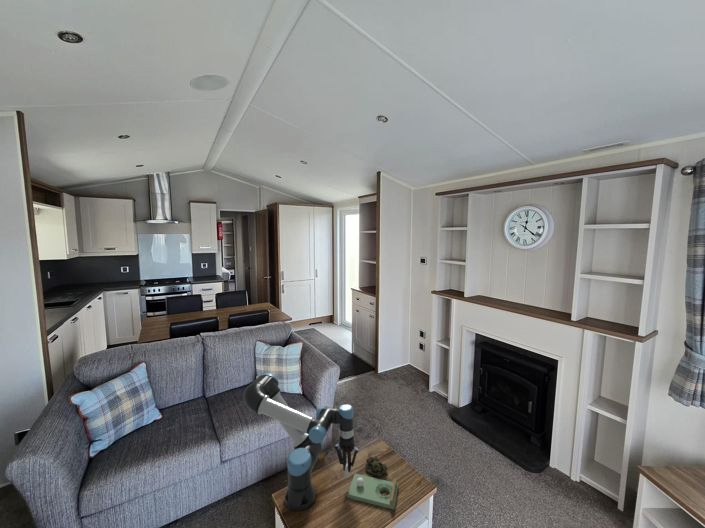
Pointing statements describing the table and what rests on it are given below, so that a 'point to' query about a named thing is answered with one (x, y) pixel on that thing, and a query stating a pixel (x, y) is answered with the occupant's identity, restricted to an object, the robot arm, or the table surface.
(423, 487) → the table surface
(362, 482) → the ball
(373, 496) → the green
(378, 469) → the rock
